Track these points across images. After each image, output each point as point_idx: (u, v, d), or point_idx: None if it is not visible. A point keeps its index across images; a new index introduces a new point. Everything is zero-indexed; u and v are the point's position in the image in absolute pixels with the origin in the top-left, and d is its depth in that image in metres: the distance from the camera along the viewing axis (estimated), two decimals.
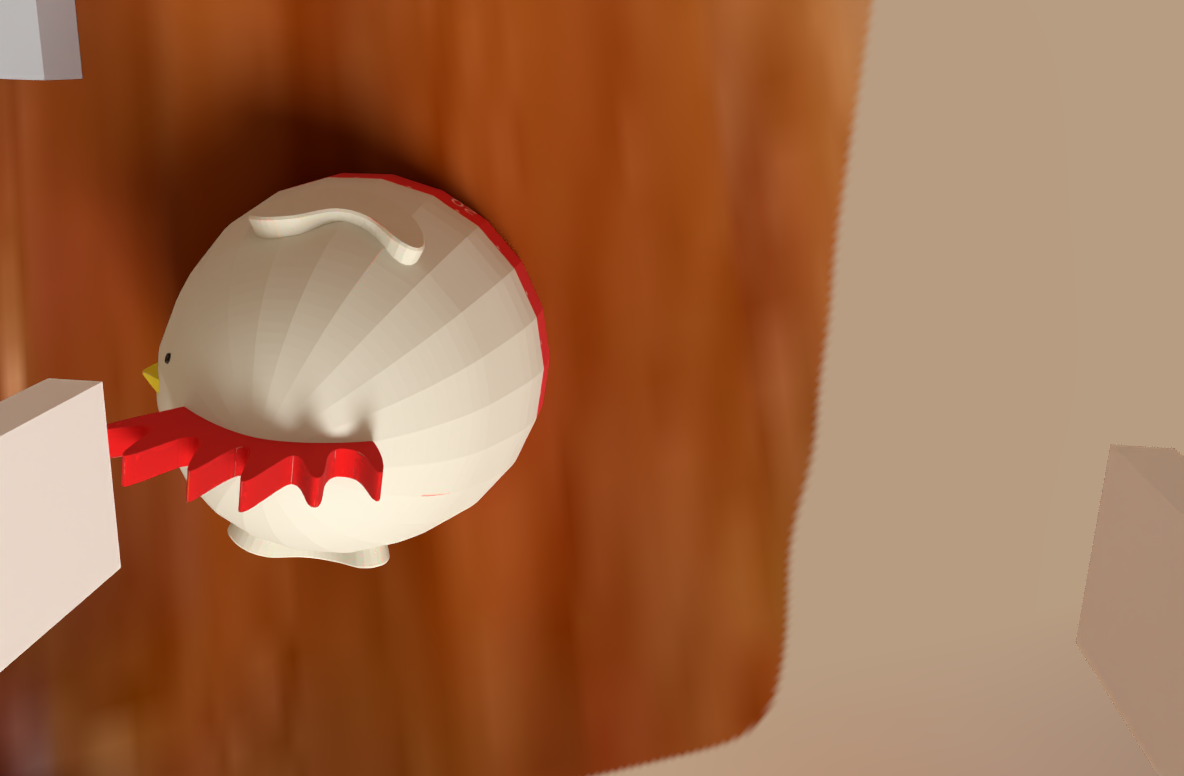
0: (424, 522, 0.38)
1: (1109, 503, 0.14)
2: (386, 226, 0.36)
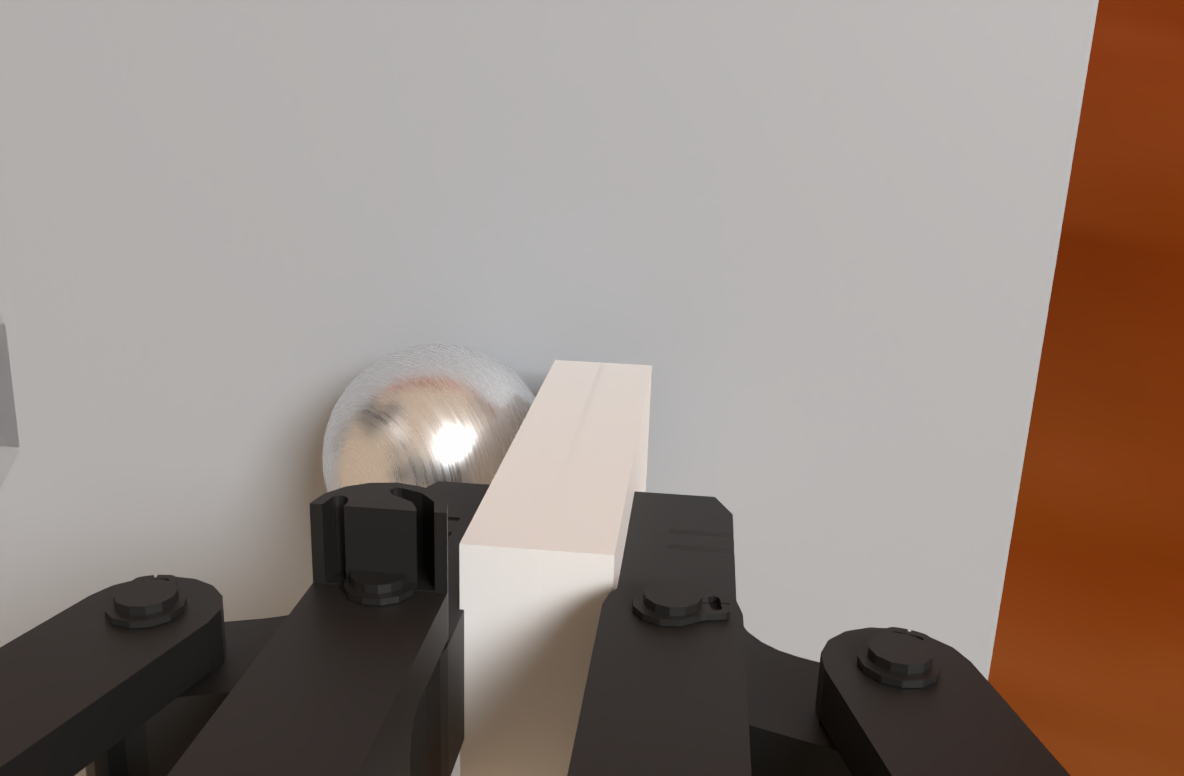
0: None
1: None
2: None
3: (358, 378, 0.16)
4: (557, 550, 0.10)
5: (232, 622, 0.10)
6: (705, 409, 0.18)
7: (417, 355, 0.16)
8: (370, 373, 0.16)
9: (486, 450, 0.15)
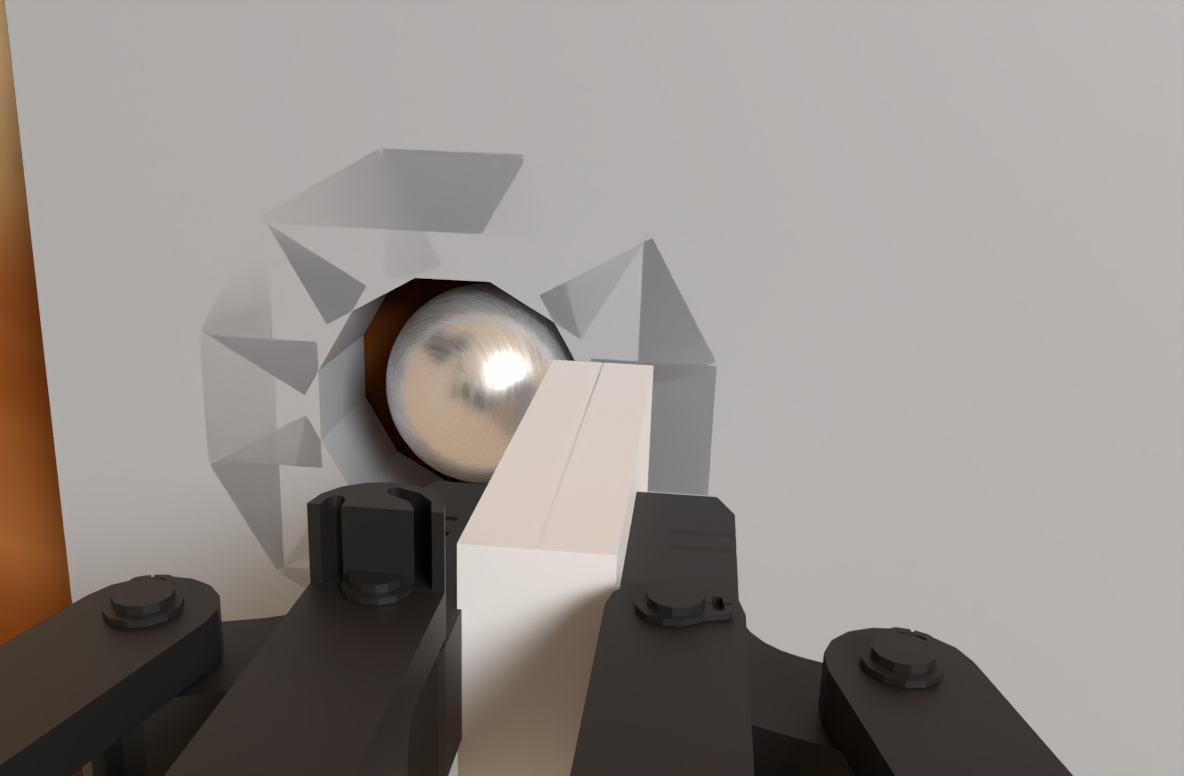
0: None
1: None
2: None
3: (421, 308, 0.18)
4: (554, 550, 0.10)
5: (229, 622, 0.10)
6: None
7: (474, 285, 0.19)
8: (433, 300, 0.18)
9: (546, 349, 0.18)
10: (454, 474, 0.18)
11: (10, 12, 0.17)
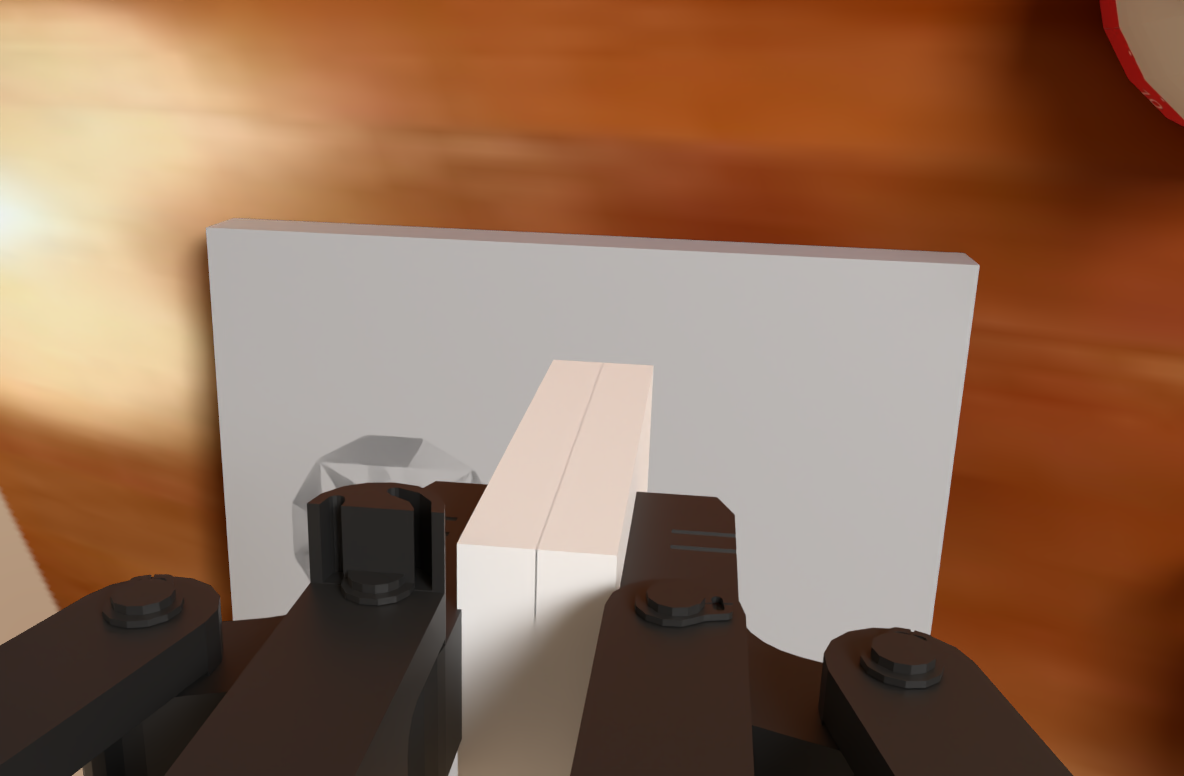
0: None
1: None
2: None
3: None
4: (554, 550, 0.10)
5: (230, 622, 0.10)
6: (804, 557, 0.43)
7: None
8: None
9: None
10: None
11: (217, 379, 0.43)
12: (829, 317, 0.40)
